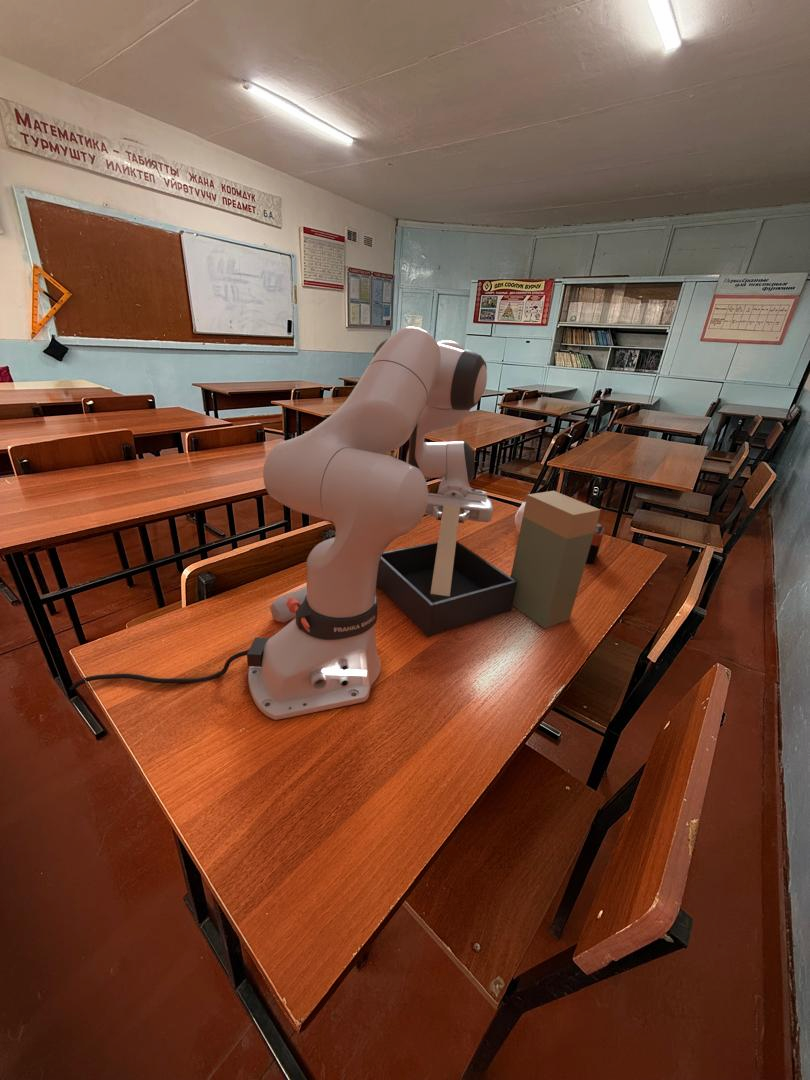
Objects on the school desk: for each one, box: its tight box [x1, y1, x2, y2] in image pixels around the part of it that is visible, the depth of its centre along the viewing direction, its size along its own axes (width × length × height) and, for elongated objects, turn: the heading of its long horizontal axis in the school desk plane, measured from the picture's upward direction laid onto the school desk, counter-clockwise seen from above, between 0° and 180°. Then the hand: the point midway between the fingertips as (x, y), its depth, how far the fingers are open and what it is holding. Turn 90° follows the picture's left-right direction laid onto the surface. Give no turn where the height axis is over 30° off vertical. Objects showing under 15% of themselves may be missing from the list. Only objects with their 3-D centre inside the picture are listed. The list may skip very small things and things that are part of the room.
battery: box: [586, 523, 605, 565], centre depth 123 cm, size 4×7×10 cm, turn 150°
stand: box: [510, 490, 601, 630], centre depth 93 cm, size 8×12×26 cm, turn 31°
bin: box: [376, 540, 517, 638], centre depth 100 cm, size 23×24×8 cm
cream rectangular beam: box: [430, 505, 460, 603], centre depth 98 cm, size 4×24×4 cm, turn 172°
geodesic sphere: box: [514, 501, 526, 534], centre depth 130 cm, size 15×14×14 cm
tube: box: [269, 586, 307, 624], centre depth 94 cm, size 5×5×25 cm
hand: (450, 518), depth 103 cm, fingers closed on cream rectangular beam, 4 cm apart
